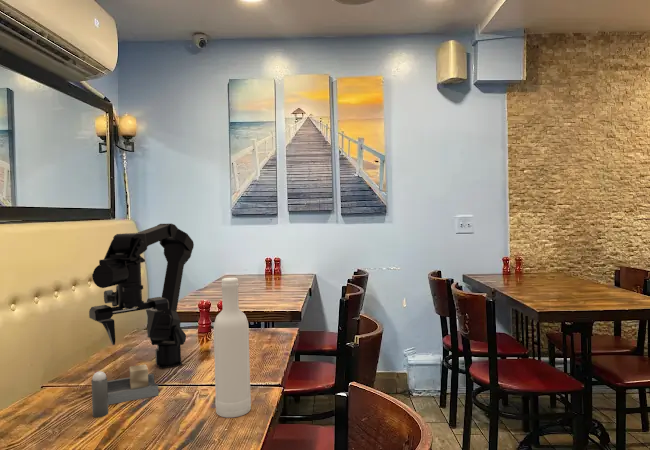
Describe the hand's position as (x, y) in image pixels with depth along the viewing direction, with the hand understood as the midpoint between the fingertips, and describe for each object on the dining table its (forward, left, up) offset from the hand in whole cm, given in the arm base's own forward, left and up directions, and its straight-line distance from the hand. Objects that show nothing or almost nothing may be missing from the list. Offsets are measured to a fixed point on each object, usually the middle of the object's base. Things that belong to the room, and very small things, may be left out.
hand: (131, 340), depth 122 cm
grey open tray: (+2, +5, -12) cm, 13 cm away
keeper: (-1, +5, -11) cm, 12 cm away
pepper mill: (+8, +15, -12) cm, 21 cm away
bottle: (-19, +28, -12) cm, 36 cm away
